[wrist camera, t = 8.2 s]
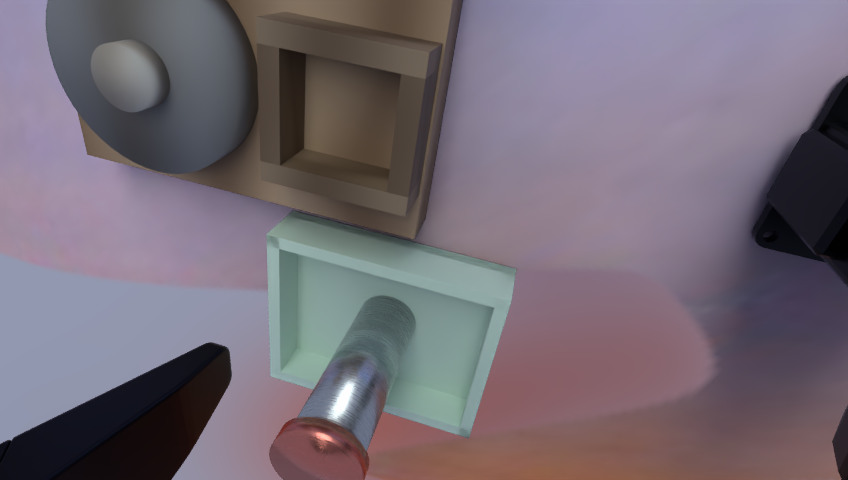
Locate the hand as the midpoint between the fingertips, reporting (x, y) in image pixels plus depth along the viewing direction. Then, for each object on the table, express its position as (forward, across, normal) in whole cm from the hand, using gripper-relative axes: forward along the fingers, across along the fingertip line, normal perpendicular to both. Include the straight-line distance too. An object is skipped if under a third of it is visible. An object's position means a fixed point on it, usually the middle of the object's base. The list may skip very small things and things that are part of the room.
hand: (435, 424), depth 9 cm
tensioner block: (+13, +11, -2) cm, 17 cm away
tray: (+13, +4, +9) cm, 16 cm away
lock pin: (+12, +4, +9) cm, 16 cm away
